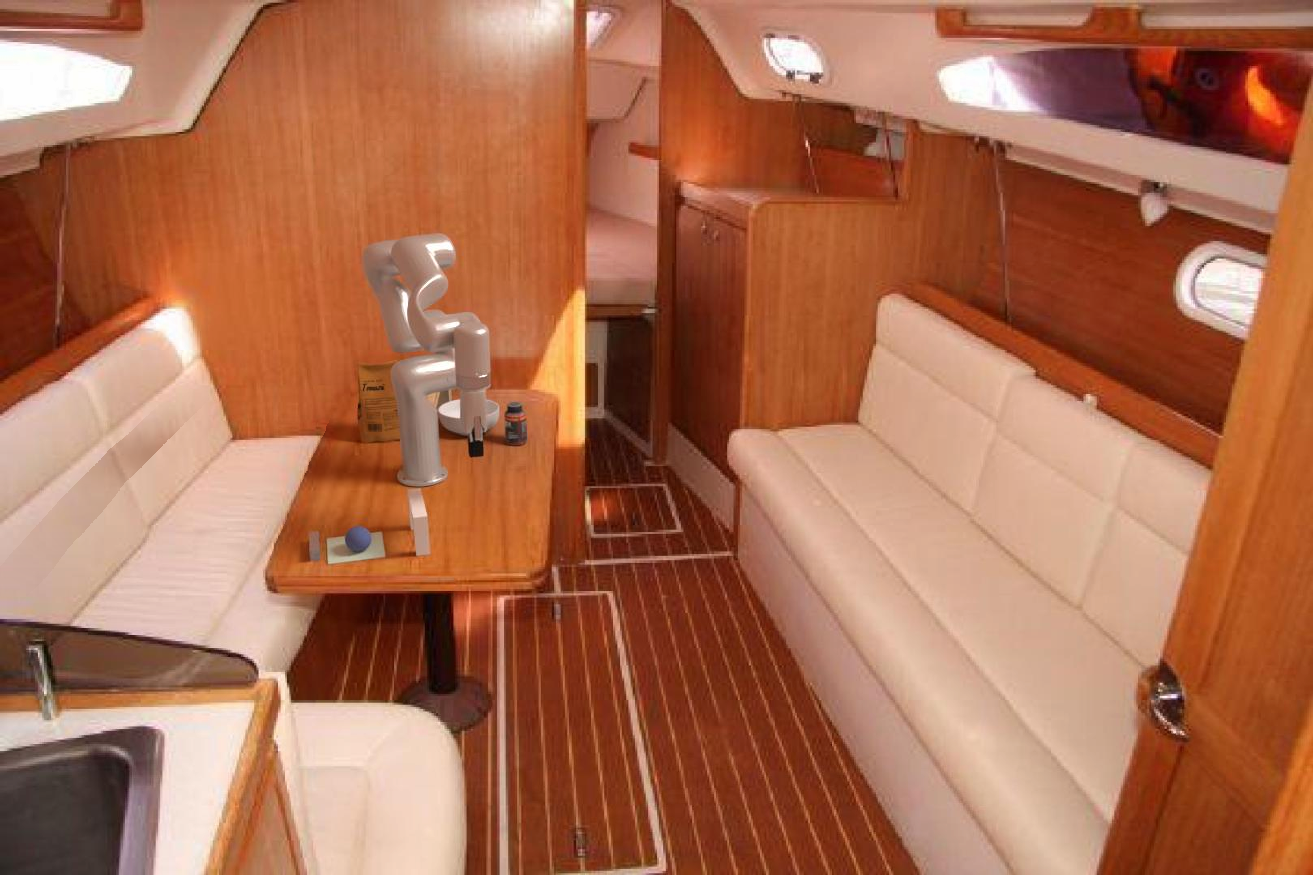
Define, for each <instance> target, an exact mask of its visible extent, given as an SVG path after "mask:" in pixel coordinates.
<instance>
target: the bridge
mask: <svg viewBox="0 0 1313 875" xmlns="http://www.w3.org/2000/svg"><path fill="white" fill-rule="evenodd" d="M406 492H407V501H408V502H407V504H408V513H409V514H408V515H409V525H410V526H409V528H410V530H411V531H413V534H414V535H413V536H414V547H415V548H414V549H415V556H416V557H418V556H419V557H420V556H429V555H431V546H430V545H431V544H430V532H429V520H428V513H427V510H426V505H425V500H424V496H423V493H422V489H421V488H411V489H407V491H406Z"/></svg>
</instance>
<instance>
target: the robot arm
mask: <svg viewBox="0 0 1313 875" xmlns="http://www.w3.org/2000/svg"><path fill="white" fill-rule="evenodd" d="M456 259H457V253H456V248H455V246H454V243H453V241H452V240H451V238H449V237H448V236H447V235H446V234H444V233H441V232H435V233H427V234H426V233H425V234H419V235H408V236H405V237H401V238H398V239H397V238H396V239H388V240H381V241H377V242H373V243H371V244H369V245H367V246H365V248H364V249H363V251H362V254H361V264H362V271H363V273H364V277H365V280H366V281H367V283H368V285H369V287H370V289H371V290H372V292H373V294H374V297H375V298H376V300H377V303H378V308H379V311H380V315H381V319H382V324H383V327H384V332H385V335H386V339H387V342H388V345H389V347H390V349H391V350H392V351H393V352H394V353H397V354H408V353H414V352H415V353H416V352H421V351H427V352H430V353H429V354H424V355H418V356H413V357H408V358H404V359H401V360H399V361H398V360H397V361H398V362H397V363H396V364H394V365H393V367H392V369H391V373H390V375H391V382H392V385H393V389H394V393H395V397H396V402H397V410H398V420H399V431H400V440H399V441H400V450H401V465H402V468H401V469H399V471H398V472H397V475H396V477H397V480H398V482H399V483H400V484H403V485H405V486H410V487H428V486H433V485H434V486H435V485H437V484H439V483H441V482H443V481H444V480H446V479H447V478H448V476H449V471H448V469H447V467H446V466H444V465H443V464H442V461H441V460H442V459H441V447H440V446H441V445H440V432H439V431H440V430H439V431H438V425H439V416H438V417H437V410H436V408H435V406H434V405H433V404H432V403H431V402H430V401H429V400H428V399H427V398H426V396H427V395H428V394H432V393H436V392H441V391H446V390H451V389H455V388H458V389H459V390H458V391H459V399H460V420H461V424H462V427H463V430H464V432H465V433H466V434H468V436H467V437H468V438H467V447H468V448H467V449H468V450H467V452H468V456H469V458H480V457H484V456H485V455H484V453H485V452H484V448H485V447H484V439H483V438H484V437H483V433H486V432H487V431H488V430H487V404H486V399H487V390H488V389H490V388H491V387H492V382H491V381H492V380H491V379H492V378H491V376H492V375H491V371H492V370H491V346H490V345H491V343H490V342H491V340H490V330H489V328H488V326H487V325H486V324H484V323H482V322H481V320H480V318H479V317H478V316H477V315H476V314H475V313H473V312H471V311H464V312H457V313H450V314H449V313H448V314H446V313H445V312H444V311H443V310H440V309H429V310H426V309H427V308H429V307H430V306H432V305H433V304H434V303H436V302H438V301H439V300H440V299H441V298H442V297H444V295H446V292H447V290H448V289H449V288H448V287H449V280H448V278H447V276H446V274H445V273H444V270H447V269H448V270H449V269H451V268H453V266H454V265H455V263H456ZM397 276H401V277H402V279H403V281H404V282H403V281H401V280H400V279H398V278H397ZM404 283H405V284H404ZM451 391H452V390H451ZM483 431H484V432H483Z"/></svg>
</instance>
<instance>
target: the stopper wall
mask: <svg viewBox="0 0 1313 875" xmlns="http://www.w3.org/2000/svg"><path fill="white" fill-rule="evenodd" d="M319 532H320V531H319V530H317V531H310V532H308V539H309V540H308V541H309V543H308V545H309V558H310V562H317V561H321V540H320V533H319Z"/></svg>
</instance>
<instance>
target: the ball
mask: <svg viewBox="0 0 1313 875" xmlns="http://www.w3.org/2000/svg"><path fill="white" fill-rule="evenodd" d="M370 533H371V532H370V531H369V529H367V528H366V527H364V526H361V525H356V526H353V527H351V528H350V529H348V530H347V532H346V533H345V535H344V536H345V543H346V545H347V547H348V548H349V549H350V550H352V551H355V552H361V551H364V550H366V549H367V548H368V547H369V545H370V544H371V534H370Z"/></svg>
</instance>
